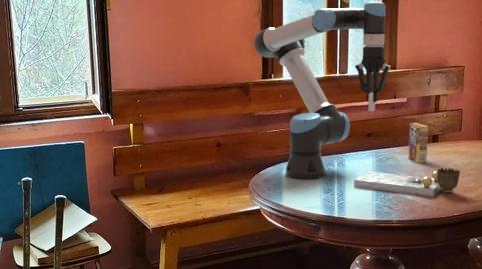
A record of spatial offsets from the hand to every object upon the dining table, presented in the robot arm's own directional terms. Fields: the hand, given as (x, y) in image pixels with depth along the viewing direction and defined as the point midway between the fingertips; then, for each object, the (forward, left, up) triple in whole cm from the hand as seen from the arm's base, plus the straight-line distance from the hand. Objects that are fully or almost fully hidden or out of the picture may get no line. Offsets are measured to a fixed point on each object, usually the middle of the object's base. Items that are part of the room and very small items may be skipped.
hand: (371, 110), depth 230 cm
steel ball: (+19, -6, -24) cm, 32 cm away
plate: (+13, -6, -26) cm, 29 cm away
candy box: (+7, +37, -26) cm, 46 cm away
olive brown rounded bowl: (+30, -7, -26) cm, 40 cm away
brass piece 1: (+24, -11, -22) cm, 34 cm away
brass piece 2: (+25, -2, -22) cm, 33 cm away
